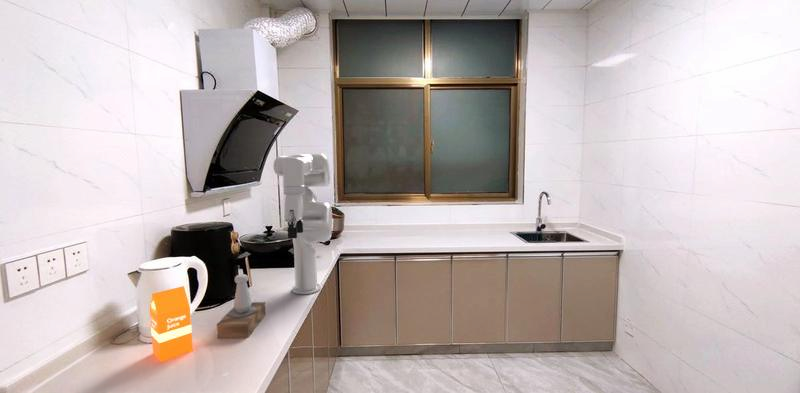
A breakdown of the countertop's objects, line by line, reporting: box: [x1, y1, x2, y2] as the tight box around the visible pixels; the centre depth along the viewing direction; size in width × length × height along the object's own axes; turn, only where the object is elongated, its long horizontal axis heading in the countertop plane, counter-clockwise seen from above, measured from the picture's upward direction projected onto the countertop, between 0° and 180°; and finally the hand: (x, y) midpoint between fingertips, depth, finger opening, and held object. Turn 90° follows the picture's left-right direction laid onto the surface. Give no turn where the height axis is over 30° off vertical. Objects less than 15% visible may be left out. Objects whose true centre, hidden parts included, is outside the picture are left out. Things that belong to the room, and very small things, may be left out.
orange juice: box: [149, 285, 194, 363], centre depth 113 cm, size 8×9×20 cm
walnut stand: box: [216, 301, 267, 340], centre depth 131 cm, size 18×10×6 cm, turn 2°
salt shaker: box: [233, 273, 252, 313], centre depth 131 cm, size 6×6×13 cm
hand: (295, 235), depth 140 cm, fingers open, 9 cm apart
